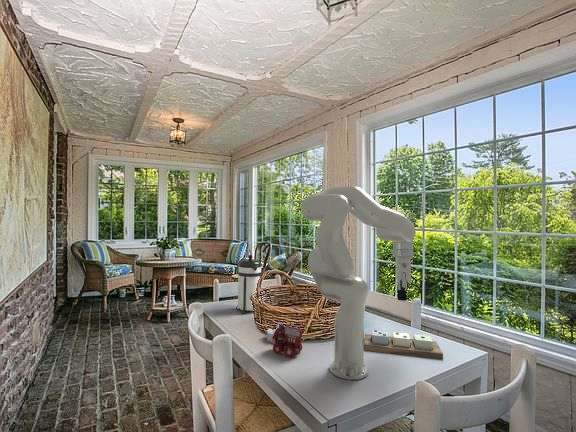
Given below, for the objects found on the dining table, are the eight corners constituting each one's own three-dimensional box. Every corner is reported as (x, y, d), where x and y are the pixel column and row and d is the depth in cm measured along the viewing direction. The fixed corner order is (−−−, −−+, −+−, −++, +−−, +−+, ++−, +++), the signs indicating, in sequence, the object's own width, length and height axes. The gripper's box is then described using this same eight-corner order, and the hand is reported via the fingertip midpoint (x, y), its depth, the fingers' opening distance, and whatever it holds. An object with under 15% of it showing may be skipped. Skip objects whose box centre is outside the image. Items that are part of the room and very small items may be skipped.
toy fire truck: (278, 346, 126) (279, 319, 126) (306, 353, 119) (306, 325, 119) (268, 352, 120) (268, 324, 120) (296, 360, 113) (297, 331, 113)
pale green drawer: (432, 349, 120) (432, 340, 120) (415, 347, 122) (415, 338, 122) (429, 343, 126) (429, 335, 126) (413, 341, 128) (413, 333, 128)
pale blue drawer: (388, 344, 124) (388, 336, 124) (372, 342, 126) (372, 334, 126) (387, 338, 130) (387, 330, 130) (372, 337, 131) (372, 329, 131)
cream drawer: (410, 346, 122) (410, 338, 122) (393, 345, 124) (393, 336, 124) (408, 341, 128) (408, 332, 128) (392, 339, 130) (392, 331, 130)
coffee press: (268, 308, 177) (269, 254, 177) (255, 316, 162) (256, 257, 162) (240, 304, 183) (241, 252, 183) (225, 312, 168) (226, 255, 168)
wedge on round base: (300, 338, 134) (271, 333, 139) (300, 322, 134) (272, 318, 139) (293, 346, 126) (263, 341, 130) (294, 328, 126) (264, 324, 130)
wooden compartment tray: (443, 359, 117) (443, 353, 117) (364, 349, 123) (364, 344, 123) (436, 346, 128) (436, 341, 128) (364, 338, 135) (364, 333, 135)
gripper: (415, 256, 118) (414, 305, 118) (410, 252, 132) (409, 296, 132) (394, 255, 120) (393, 304, 120) (391, 251, 134) (390, 294, 134)
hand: (401, 299), depth 126 cm, fingers closed
